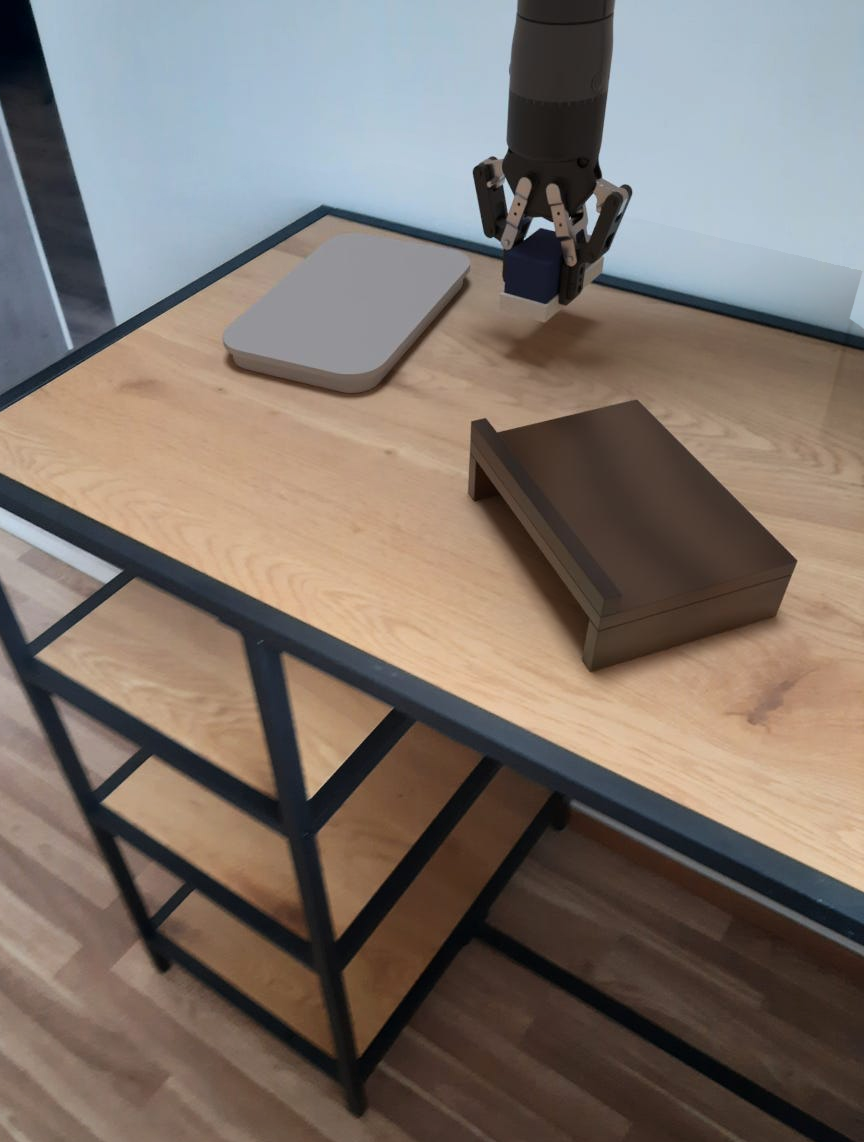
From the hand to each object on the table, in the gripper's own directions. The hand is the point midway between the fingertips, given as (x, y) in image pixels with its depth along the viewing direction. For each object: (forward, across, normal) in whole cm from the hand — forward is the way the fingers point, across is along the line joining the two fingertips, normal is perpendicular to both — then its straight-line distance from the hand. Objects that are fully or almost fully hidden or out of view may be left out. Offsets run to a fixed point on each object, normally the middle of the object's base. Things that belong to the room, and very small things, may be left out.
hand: (540, 293), depth 84 cm
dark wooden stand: (+5, -18, +22) cm, 29 cm away
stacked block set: (+1, 0, -2) cm, 2 cm away
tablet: (+5, +18, +5) cm, 19 cm away
